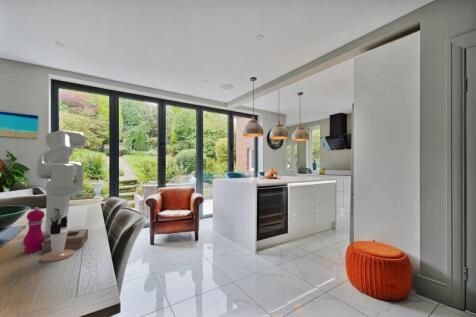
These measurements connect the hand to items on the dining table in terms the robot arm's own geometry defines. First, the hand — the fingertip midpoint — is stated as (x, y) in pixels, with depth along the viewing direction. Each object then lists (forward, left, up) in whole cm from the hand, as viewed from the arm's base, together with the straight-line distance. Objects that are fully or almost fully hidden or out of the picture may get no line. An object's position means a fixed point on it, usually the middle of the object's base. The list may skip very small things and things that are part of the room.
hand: (58, 230), depth 91 cm
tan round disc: (+1, 0, -11) cm, 11 cm away
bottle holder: (-15, 0, -11) cm, 19 cm away
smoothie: (0, 0, -10) cm, 10 cm away
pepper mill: (-13, -12, -11) cm, 21 cm away
